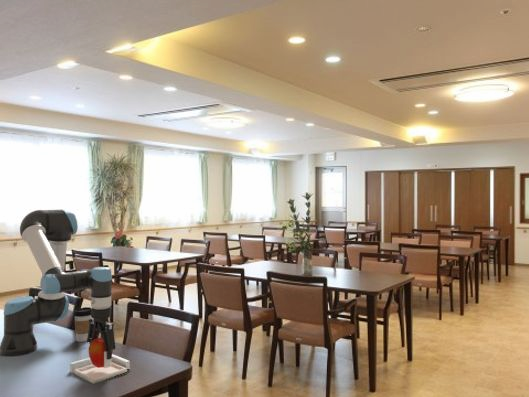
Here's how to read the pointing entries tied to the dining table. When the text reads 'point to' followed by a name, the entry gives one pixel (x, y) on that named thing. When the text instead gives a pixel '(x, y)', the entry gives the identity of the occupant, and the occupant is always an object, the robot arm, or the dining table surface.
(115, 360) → the pen walls
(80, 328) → the coffee cup
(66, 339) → the dining table surface
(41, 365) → the dining table surface
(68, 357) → the dining table surface
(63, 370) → the dining table surface
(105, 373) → the dish
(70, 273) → the robot arm
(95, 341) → the apple
